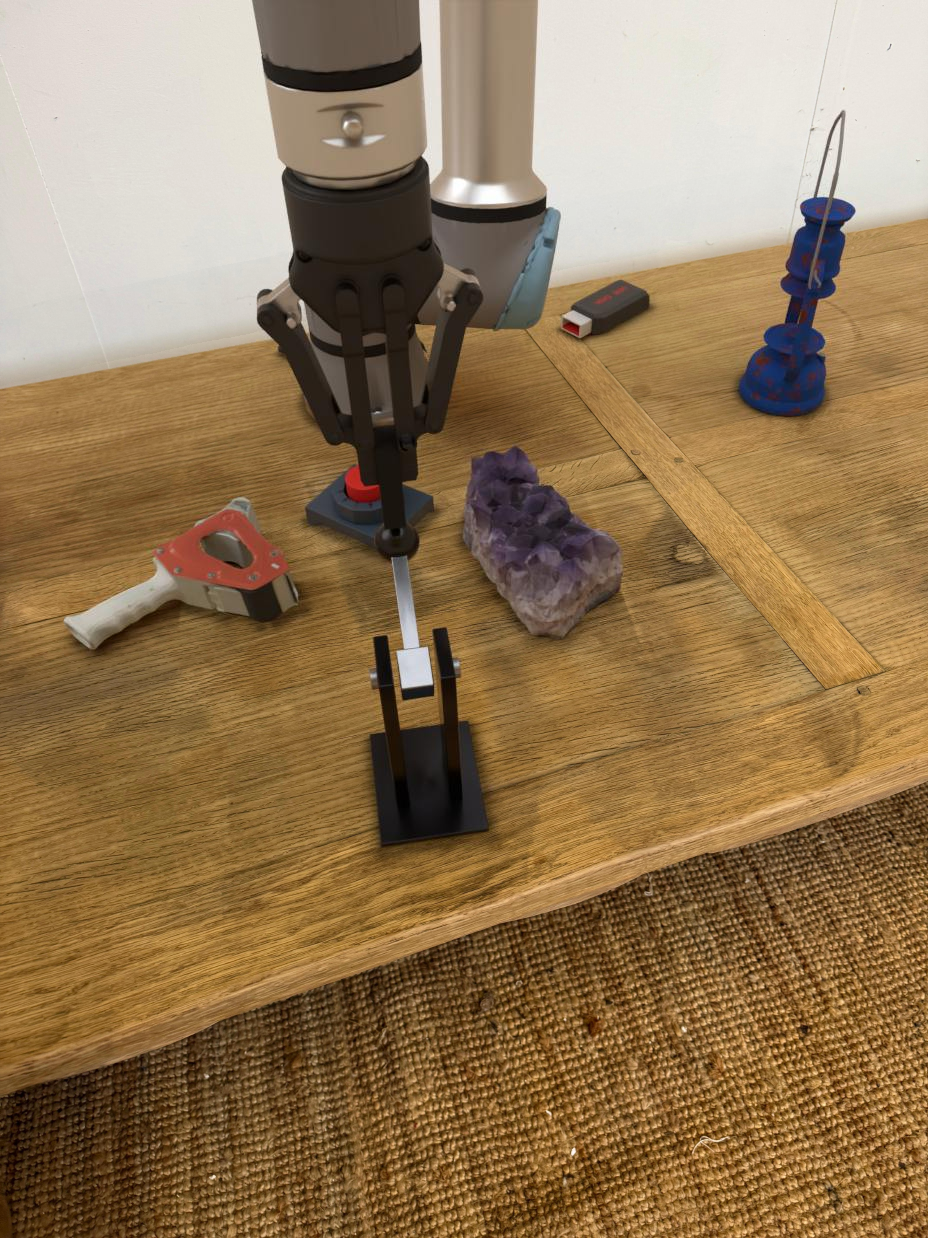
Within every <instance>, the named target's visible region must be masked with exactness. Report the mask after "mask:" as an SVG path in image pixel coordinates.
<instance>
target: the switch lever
mask: <svg viewBox="0 0 928 1238" xmlns="http://www.w3.org/2000/svg"><path fill="white" fill-rule="evenodd" d="M419 535H420V534H419V533H418V531H417V529H416V528H415V526H413V525H412V524H410V523H409V522H407V521H406V527H403V528H394V529H386V530H385V528H384V523H383V524H382V525H381V526H380V527H379V528H378V530H377V532H376V534H375V539H374V545H375V548H374V549H375V551H376V553H377V555H378V556H379V557H380V558H381V559H382V560H383V561H384V562H387V563H388V564H391V566H392V574H393V580H394V582H393V583H394V588H395V595H396V603H397V610H398V618H399V625H400V633H401V639H402V647H403V649H397V650H395V654H396V664H397V671H398V679H399V686H400V694H401V700H402V701H409V700H416V699H423V698H430V697H435V681H434V680H435V678H434V674H433V673H434V672H433V666H432V660H431V652H430V646H428V645H425V646H421V643H420V637H419V629H418V621H417V617H416V609H415V602H414V594H413V588H412V582H411V581H412V580H411V574H410V567H409V566H410V565H409V561H411V560H412V559H413V558H414V557H415V556H416V555H417V553H418V551H419V548H420V536H419Z"/></svg>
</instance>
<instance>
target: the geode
mask: <svg viewBox="0 0 928 1238" xmlns="http://www.w3.org/2000/svg"><path fill="white" fill-rule="evenodd" d="M470 460H471V461H470V462H471V463H470V465H471V466H470V480H469V482H468V483H466V493H465V503H464V506H463V513H462V516H463V519H464V521H463V528H462V529H463V531H462V540H463V542H464V543H465V544H466V546H467V548H468V549H469V552H470V554H471V556H472V557H473V558H475V560H477V562H478V563H479V565H480V566H481V568H482V569H483V571H484V573H485V576H486V577H487V579H489V580H490V582H491V583H493V584H494V585H496V591H497V592H498V593H499V595H500V596H501V597H502V598H504V599H505V600H506V601H508V602H509V605H510V608H511V609H512V610H513V612H514V613H516V617H517V618H518V619H519V621H521V623H522V624H523V625H524V626H525V627H526V628H527V630H528V631H529V633H530V635H531V636H533V637H546V638H551V639H557V640H563V639H564V638H565V636H566V635H567V634H569V633H570V632H571V631H573V629H575V628H576V627H577V626H579V623H580V621H581V620H582V619H583V618H584V617H585V616H586V614H588V613H589V611H591V610H593V609H595V608H597V607H598V605H600V604H602V603H604V602H606V601H607V600H609V599H611V598H612V597H613V596H614V595H615V594H616V593H617V592H618V591H620V590H621V587H622V581H623V576H624V570H623V569H624V568H623V564H622V563H621V562H622V557H623V553H624V552H623V549H622V548H621V546H620V545H619V542H618V541H617V540H616V539H614V538H613V537H612V535H611V534H610V533H608V532H607V531H606V530H603V529H598V528H594V529H593V528H592V527H591V526H590V525H589V524H588V523H586V521H584V520H582V519H581V518H580V517H579V516H578V514H577V513H572V512H571V507H570V505H569V503H568V500H567V498H566V497H564V496H563V495H562V494H560V493H559V492H558V491H556V490H555V488H554V486H553V485H551V484H540V476H539V474H538V472H539V471H538V469H539V468H536V466H535V465H533V464H532V462H531V461H530V458H529V456H528V455H527V453H526V452H525V451H524V450H523V449H521V448H520V447H519V446H518V445H513V446H512V447H511V448H509V449H508V450H506V451H505V452H504V453H501V452H498V451H494V450H488V451H486V452H485V453H484V455H483V456H482V457H477V456H476V457H471V459H470Z"/></svg>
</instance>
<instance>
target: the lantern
mask: <svg viewBox="0 0 928 1238" xmlns="http://www.w3.org/2000/svg"><path fill="white" fill-rule="evenodd" d="M846 113H847V112H846V110H845V109H842V110H841V111H840V113H839V114H838V115H837V116H836V118H835V120H833V123H832V126H831V128H830V130H829V133H828V136H827V139H826V143H825V148H824V152H823V155H822V159H821V160H822V161H821V165H820V169H819V173H818V177H817V181H816V185H815V189H814V193H813V197H809V198H807V199H804V200H803V201H802V202H801V203H800V205H799V210H800V214H801V215H802V217H804V218H803V222H804V226H801V227H799V228H798V229H797V230H796V231H795V233H794V235H793V236H794V237H793V240H792V245H791V249H790V253H789V256H788V258H787V259H786V261H785V267H784V268H785V269H786V271H787V272H788V273H787V274H786V275H784V276H783V277H782V278H781V279H780V281H779V282H780V283H779V284H780V285H779V286H780V288H781V289H782V291H784V293H786V294H788V295H790V299H789V302H788V306H787V310H786V314H785V319H784V323H778V324H774V325H771V326H770V327H768V328H767V329H766V330H765V331H764V332H763V336H762V337H763V340H764V343H765V345H763V346H762V347H760V348H758V349H757V350H756V351H755V352H753V354H752V355H751V357H750V358H749V360H748V361H747V364H746V367H745V371H744V372H743V374H742V375H741V378H740V380H739V385H738V393H739V396H740V397H741V399H742V400H743V401H744V402H745V403H746V404H747V405H749V406H750V407H752V408H754V409H756V410H758V411H760V412H763V413H766V414H769V415H775V416H784V417H793V416H801V415H802V416H803V415H806V414H809V413H811V412H814V411H816V410H817V409H818V408H819V407H820V406H821V405H822V404H823V401H824V398H825V395H826V388H825V384H826V383H825V382H826V377H827V367H826V356H827V354H826V352H820V351H821V350H823V349H824V347H825V345H826V339H825V337H824V336H823V334H822V333H821V332H820V331H818V330H817V329H815V328H814V327H813V323H814V319H815V316H816V312H817V307H818V303H819V300H823V299H827V298H829V297H831V296H833V294H835V293H836V290H837V285H836V283H835V282H834V278H836V277H837V276H838V275H839V274H840V271H841V260H842V257H843V254H844V253H843V252H844V249H845V246H846V245H845V244H846V234H845V233H844V232H843V231H841V229H842V228H843V227H844V226H845V223H847V222H849V221H851V219H852V218H853V217H854V215H855V214H856V212H857V211H856V210H857V209H856V207H855V206H854V205H853V204H851V203H850V202H848V201H846V200H844V199H841V198H836V197H834V196H835V192H836V188H837V185H838V180H839V174H840V173H839V171H840V167H841V160H842V155H843V154H842V153H843V146H844V135H845V122H846V116H847V115H846ZM839 121H840V127H839V128H840V129H839V141H838V150H837V157H836V162H835V163H836V164H835V169H834V173H833V177H832V180H831V184H830V185H831V186H830V190H829V195H828V196H818V193H819V189H820V185H821V183H822V177H823V172H824V169H825V166H826V165H825V164H826V161H827V157H828V153H829V149H830V146H831V141H832V139H833V135H834V132H835V129H836V127H837V125H838V123H839ZM818 352H819V353H818Z"/></svg>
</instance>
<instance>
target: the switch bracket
mask: <svg viewBox="0 0 928 1238" xmlns="http://www.w3.org/2000/svg"><path fill="white" fill-rule="evenodd" d="M431 631H432V633H431V635H432V646H433V657H434V669H435V681H436V693H437V695H436V696H437V705H438V706H437V707H438V718H439V719H438V720H439V723H438V724H433V725H426V726H425V725H424V726H418V727H411V728H404V729H401V724H400V716H399V709H398V702H397V694H396V687H395V680H394V673H393V671H394V670H393V665H392V657H391V650H390V643H389V636H388V635H387V634H383V635H377V636H375V635H374V636H373V637H372V643H373V652H374V659H375V660H374V661H375V667H374V668H369V669H368V670H369V679H370V680H369V681H370V686H371V690H374V691H375V690H378V693H379V694H378V695H379V700H380V706H381V714H382V719H383V725H384V731H382V732H376V733H375V732H374V733H370V734H369V742H370V751H371V761H372V772H373V781H374V790H375V791H374V792H375V801H376V811H377V821H378V831H379V832H378V833H379V841H380V847H381V848H385V847H391V846H392V847H393V846H398V845H405V844H411V843H420V842H426V841H432V840H433V841H434V840H440V839H445V838H453V837H458V836H460V837H461V836H465V835H466V836H467V835H473V834H478V833H484V832H485V833H487V832H489V831H490V827H489V821H488V816H487V813H486V812H487V811H486V806H485V801H484V796H483V791H482V785H481V781H480V775H479V770H478V764H477V761H476V760H477V759H476V754H475V748H474V743H473V738H472V734H471V730H470V729H471V728H470V722H469V720H461V721H459V705H458V689H457V679H461V678H462V669H461V663H460V658H459V657H458V656H457V657H456V656H455V657H453V654H452V646H451V642H450V637H449V632H448V631H449V630H448V628H447V627H445V626H444V627H436V628H432V630H431Z"/></svg>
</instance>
